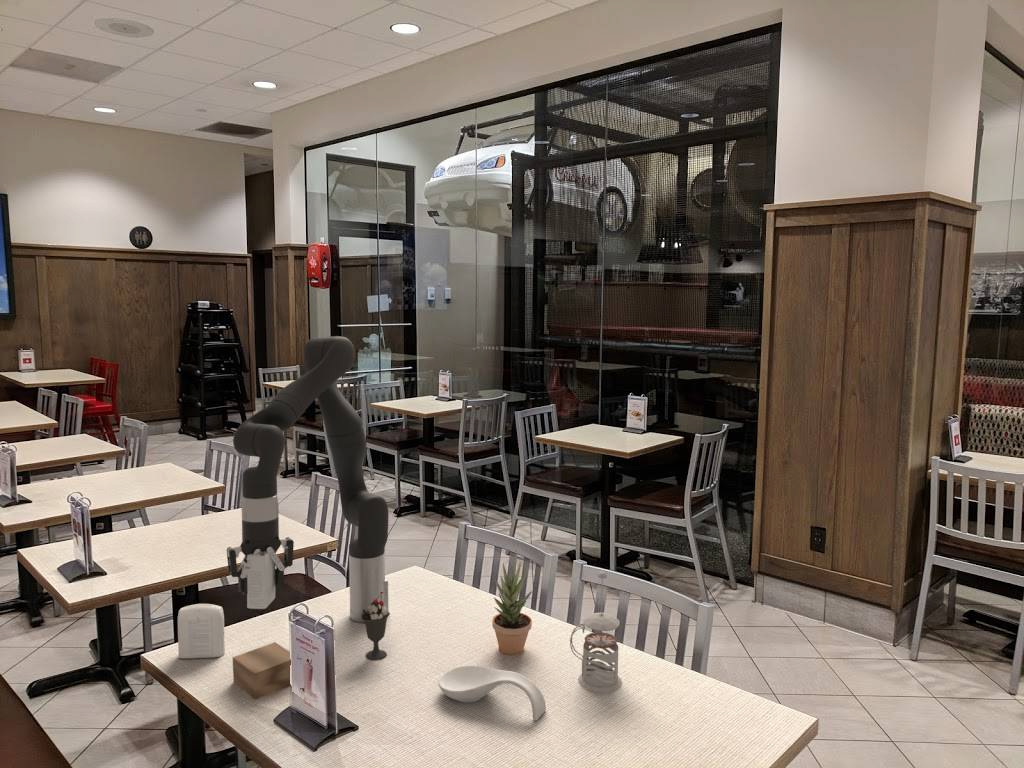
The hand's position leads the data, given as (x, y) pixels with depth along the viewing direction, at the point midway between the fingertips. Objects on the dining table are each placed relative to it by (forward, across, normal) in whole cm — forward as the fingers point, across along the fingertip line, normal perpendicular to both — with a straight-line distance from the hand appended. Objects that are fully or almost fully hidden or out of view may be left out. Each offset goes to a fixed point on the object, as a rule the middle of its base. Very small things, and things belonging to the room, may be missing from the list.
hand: (261, 589), depth 160 cm
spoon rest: (+20, -36, +36) cm, 55 cm away
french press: (+20, -60, +43) cm, 76 cm away
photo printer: (+21, +8, -19) cm, 29 cm away
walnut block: (+21, 0, +2) cm, 21 cm away
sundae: (+20, -25, +4) cm, 33 cm away
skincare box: (+3, 0, 0) cm, 3 cm away
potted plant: (+20, -54, +20) cm, 60 cm away
